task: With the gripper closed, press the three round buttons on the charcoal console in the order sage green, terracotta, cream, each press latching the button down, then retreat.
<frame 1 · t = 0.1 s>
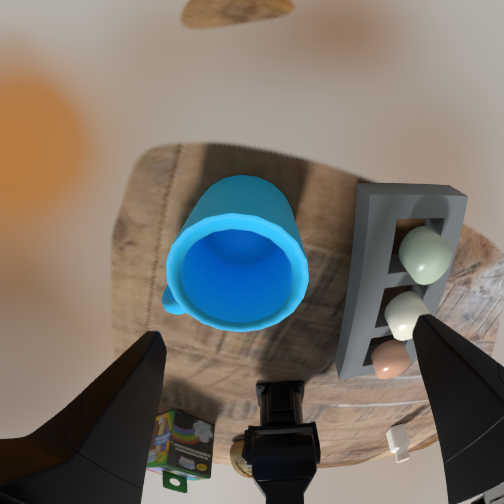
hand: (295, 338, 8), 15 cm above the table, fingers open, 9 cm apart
chalk box: (183, 421, 42), on the table
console: (390, 287, 25), on the table
pepper shaker: (394, 426, 46), on the table
sage button: (425, 255, 18), point 5 cm above the table, slide at 0.0 cm
mug: (226, 234, 23), on the table
cream button: (407, 316, 21), point 5 cm above the table, slide at 0.0 cm
terracotta button: (390, 359, 24), point 5 cm above the table, slide at 0.0 cm
bread roll: (258, 446, 48), on the table
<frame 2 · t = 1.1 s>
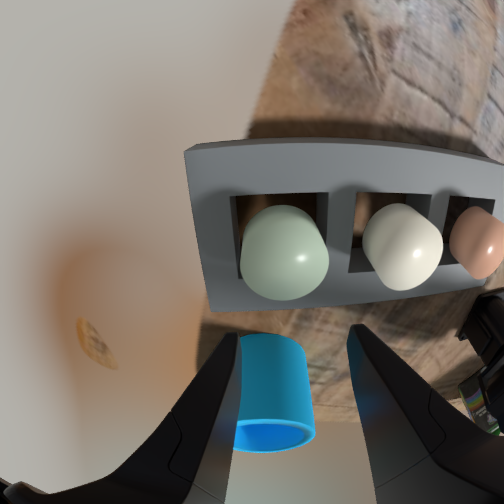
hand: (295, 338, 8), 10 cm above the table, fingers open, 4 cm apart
chalk box: (479, 376, 30), on the table
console: (373, 214, 17), on the table
sage button: (283, 252, 13), point 4 cm above the table, slide at 0.0 cm
mug: (273, 368, 25), on the table
cream button: (402, 246, 13), point 4 cm above the table, slide at 0.0 cm
terracotta button: (479, 242, 12), point 4 cm above the table, slide at 0.0 cm
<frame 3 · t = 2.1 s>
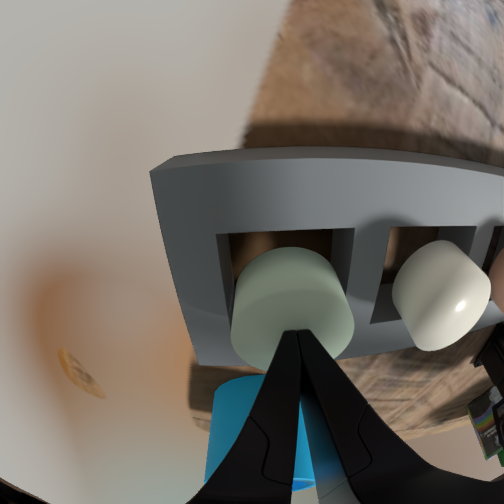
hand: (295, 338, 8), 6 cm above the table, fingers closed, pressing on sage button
chalk box: (487, 394, 26), on the table
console: (400, 245, 13), on the table
sage button: (290, 313, 9), point 4 cm above the table, slide at 0.0 cm, touching gripper
mug: (274, 405, 21), on the table
cream button: (442, 296, 9), point 5 cm above the table, slide at 0.0 cm
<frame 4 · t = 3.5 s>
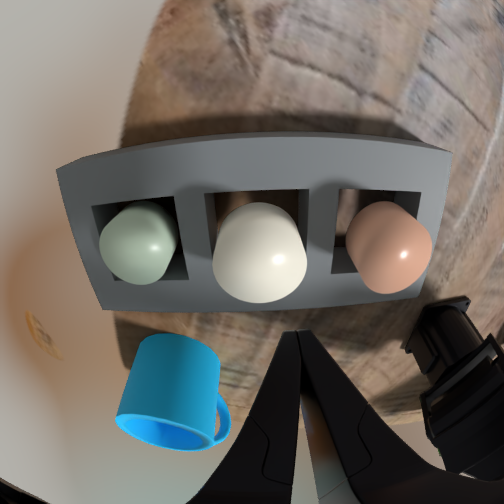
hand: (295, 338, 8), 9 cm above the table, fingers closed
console: (257, 214, 16), on the table
sage button: (139, 242, 14), point 3 cm above the table, slide at 1.6 cm
mug: (192, 369, 25), on the table
cream button: (259, 252, 12), point 4 cm above the table, slide at 0.0 cm
terracotta button: (388, 247, 12), point 5 cm above the table, slide at 0.0 cm
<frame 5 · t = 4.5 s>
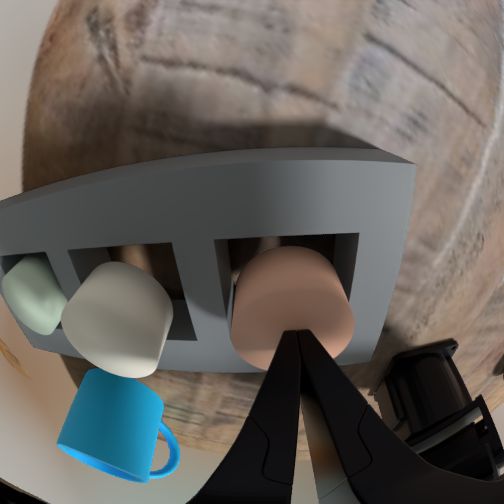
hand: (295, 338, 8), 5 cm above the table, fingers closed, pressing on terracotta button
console: (152, 261, 13), on the table
sage button: (37, 293, 11), point 3 cm above the table, slide at 1.6 cm
mug: (139, 402, 22), on the table
cream button: (117, 322, 9), point 4 cm above the table, slide at 0.0 cm
terracotta button: (290, 312, 9), point 4 cm above the table, slide at 0.5 cm, touching gripper
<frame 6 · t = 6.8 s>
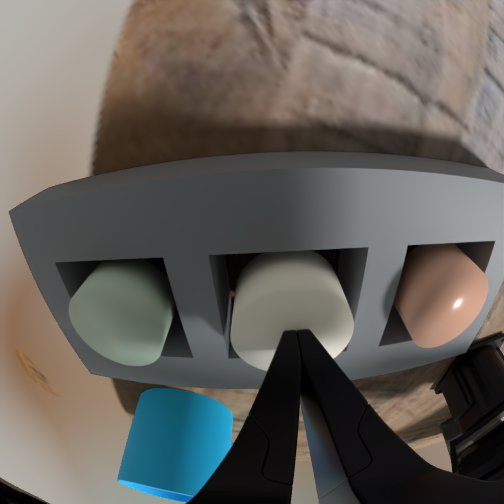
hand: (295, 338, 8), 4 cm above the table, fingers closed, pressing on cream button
chalk box: (465, 413, 25), on the table
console: (283, 267, 12), on the table
sage button: (123, 312, 10), point 3 cm above the table, slide at 1.6 cm
mug: (201, 418, 20), on the table
cream button: (290, 313, 9), point 3 cm above the table, slide at 1.5 cm, touching gripper
terracotta button: (440, 294, 9), point 3 cm above the table, slide at 1.6 cm
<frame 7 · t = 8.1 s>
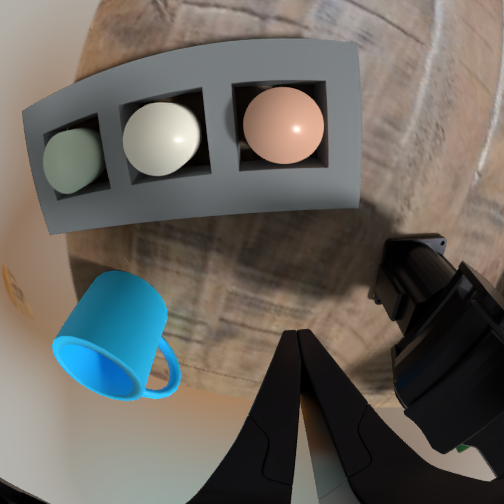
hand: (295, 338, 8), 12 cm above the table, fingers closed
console: (177, 132, 16), on the table
sage button: (74, 158, 14), point 3 cm above the table, slide at 1.6 cm
mug: (142, 317, 24), on the table
cream button: (163, 137, 13), point 3 cm above the table, slide at 1.6 cm
terracotta button: (281, 124, 13), point 3 cm above the table, slide at 1.6 cm
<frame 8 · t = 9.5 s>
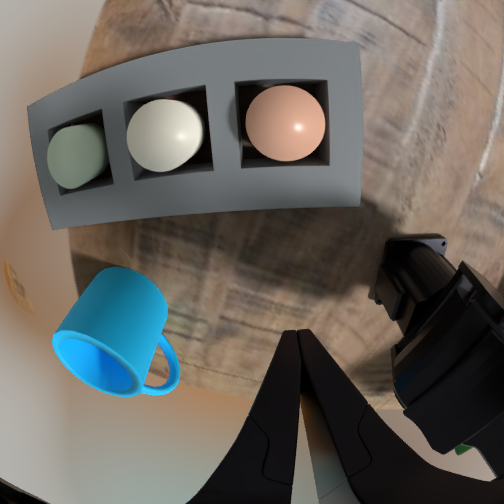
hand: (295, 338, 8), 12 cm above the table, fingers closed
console: (180, 129, 16), on the table
sage button: (78, 154, 14), point 3 cm above the table, slide at 1.6 cm
mug: (143, 313, 25), on the table
cream button: (166, 133, 14), point 3 cm above the table, slide at 1.6 cm
terracotta button: (283, 122, 13), point 3 cm above the table, slide at 1.6 cm
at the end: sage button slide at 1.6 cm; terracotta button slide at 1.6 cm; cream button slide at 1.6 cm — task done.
